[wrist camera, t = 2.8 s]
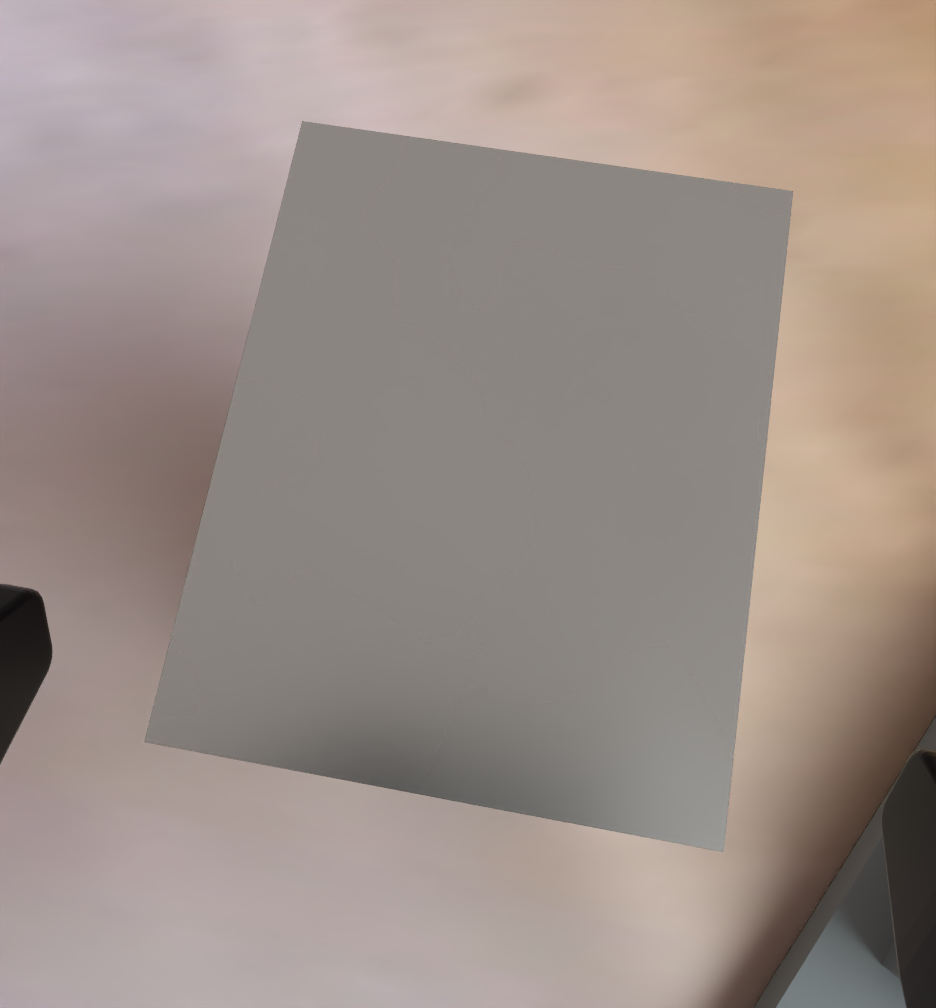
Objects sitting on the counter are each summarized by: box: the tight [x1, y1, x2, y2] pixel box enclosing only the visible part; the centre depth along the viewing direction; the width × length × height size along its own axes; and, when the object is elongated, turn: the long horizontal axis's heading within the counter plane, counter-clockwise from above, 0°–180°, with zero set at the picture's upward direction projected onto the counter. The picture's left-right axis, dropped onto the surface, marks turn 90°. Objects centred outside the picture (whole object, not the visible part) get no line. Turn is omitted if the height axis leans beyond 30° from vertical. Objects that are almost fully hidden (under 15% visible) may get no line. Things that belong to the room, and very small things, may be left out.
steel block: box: [145, 121, 793, 852], centre depth 12 cm, size 5×4×12 cm
